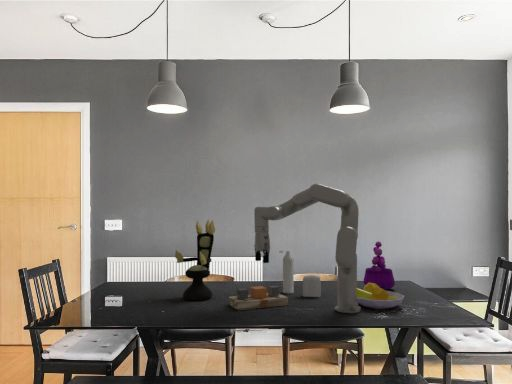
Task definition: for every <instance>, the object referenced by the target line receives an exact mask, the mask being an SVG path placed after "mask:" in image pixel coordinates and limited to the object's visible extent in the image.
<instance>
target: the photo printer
mask: <svg viewBox="0 0 512 384" xmlns="http://www.w3.org/2000/svg"><path fill="white" fill-rule="evenodd" d="M321 283H322V282H321V277H320V276H318V275H315V274H308V275H303V278H302V297H304V298H321V293H322V292H321V289H322V288H321V287H322V285H321Z"/></svg>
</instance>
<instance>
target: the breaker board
mask: <svg viewBox="0 0 512 384" xmlns="http://www.w3.org/2000/svg"><path fill="white" fill-rule="evenodd" d="M228 305H229V306H231V307H232V308H234V309H235V310H237V311H247V310H256V308H257V309H263V308H264V309H265V307H266V308H272V307H280V306H281V307H282V306H288V305H289V297H288V296H285V295H283V294H282V293H279V296H276V297H270V296H268V292H267V298H264V297H260V299H254V298H252V297H250V294H248V299H244V300H239V299H237V295H234V296H228Z"/></svg>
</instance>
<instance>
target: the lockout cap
mask: <svg viewBox="0 0 512 384" xmlns="http://www.w3.org/2000/svg"><path fill="white" fill-rule="evenodd" d="M267 293H268V287H265V286H262V285H258V286H257V285H256V286H250V287H249V295H250V297H252V298H254V299H260V297H264V298H267Z"/></svg>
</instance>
